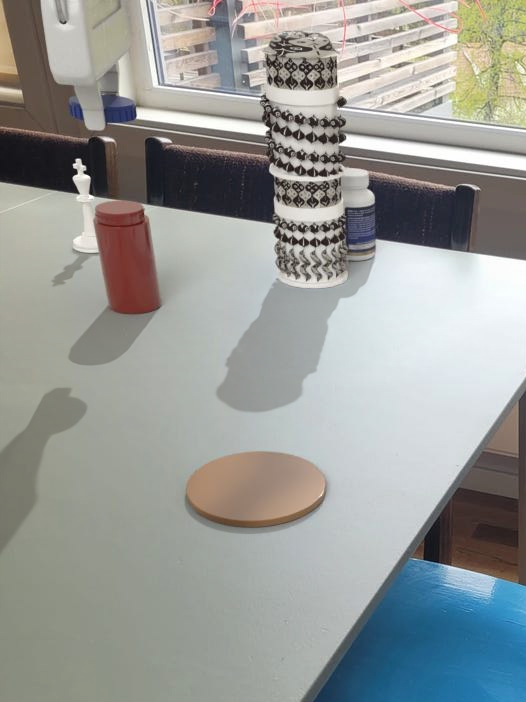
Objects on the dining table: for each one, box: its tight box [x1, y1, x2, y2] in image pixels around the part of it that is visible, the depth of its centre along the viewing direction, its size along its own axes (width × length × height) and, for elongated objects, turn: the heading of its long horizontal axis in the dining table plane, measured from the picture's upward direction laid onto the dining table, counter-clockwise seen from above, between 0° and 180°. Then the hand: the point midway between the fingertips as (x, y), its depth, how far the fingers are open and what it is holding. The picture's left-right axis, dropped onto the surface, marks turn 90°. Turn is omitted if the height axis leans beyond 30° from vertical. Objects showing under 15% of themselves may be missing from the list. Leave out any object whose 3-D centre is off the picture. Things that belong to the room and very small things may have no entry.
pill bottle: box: [341, 167, 377, 262], centre depth 123 cm, size 5×5×10 cm
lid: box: [68, 94, 138, 124], centre depth 96 cm, size 6×6×1 cm
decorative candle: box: [259, 30, 349, 289], centre depth 111 cm, size 9×9×25 cm
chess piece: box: [72, 158, 99, 254], centre depth 120 cm, size 5×5×10 cm
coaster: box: [185, 450, 327, 528], centre depth 80 cm, size 11×11×1 cm
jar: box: [93, 200, 163, 315], centre depth 106 cm, size 6×6×10 cm
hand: (104, 120), depth 97 cm, fingers closed on lid, 6 cm apart
